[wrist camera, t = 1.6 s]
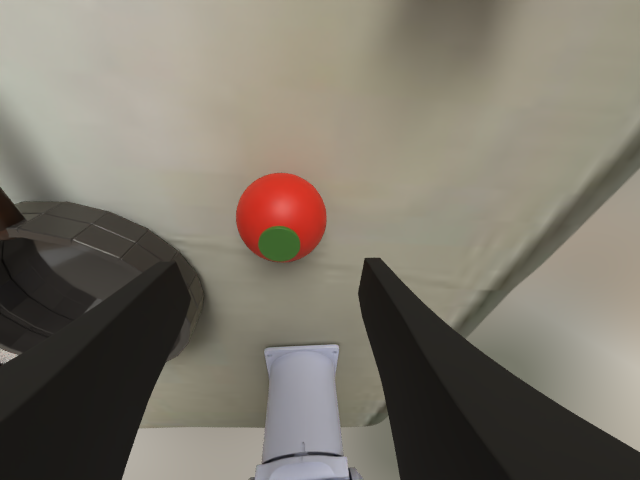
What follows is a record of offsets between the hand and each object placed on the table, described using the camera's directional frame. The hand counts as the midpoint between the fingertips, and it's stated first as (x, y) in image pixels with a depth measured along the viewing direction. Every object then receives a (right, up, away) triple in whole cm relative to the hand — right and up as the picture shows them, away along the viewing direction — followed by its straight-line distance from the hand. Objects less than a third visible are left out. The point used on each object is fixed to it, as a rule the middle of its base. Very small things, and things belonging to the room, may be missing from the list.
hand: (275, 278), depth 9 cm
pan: (-15, -2, +9) cm, 17 cm away
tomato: (0, +4, +6) cm, 7 cm away
